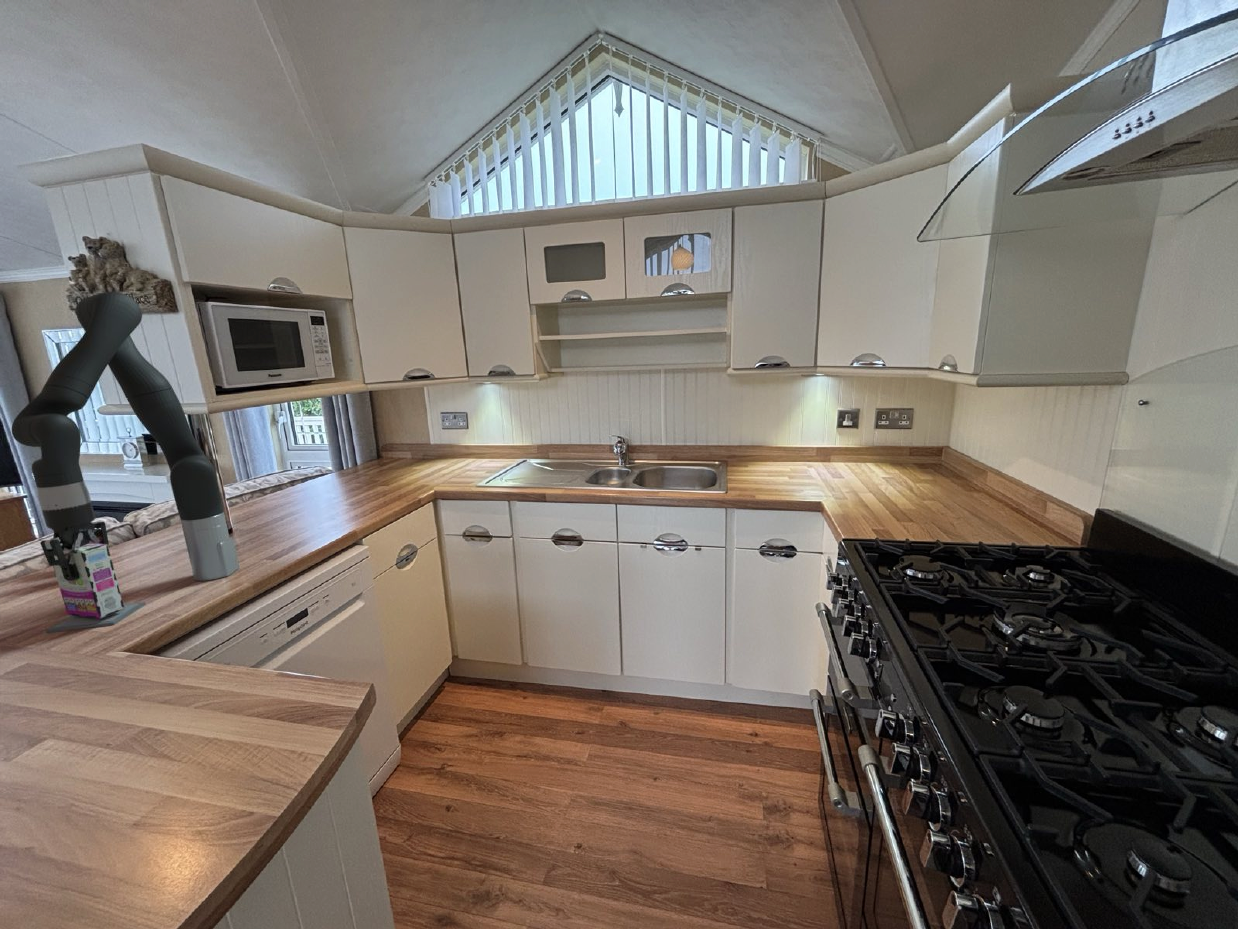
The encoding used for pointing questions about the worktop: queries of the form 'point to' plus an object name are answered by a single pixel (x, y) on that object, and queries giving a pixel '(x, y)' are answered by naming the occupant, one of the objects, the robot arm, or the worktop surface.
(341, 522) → the worktop surface
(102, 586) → the candy bar box
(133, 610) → the grey flat slab
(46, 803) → the worktop surface
